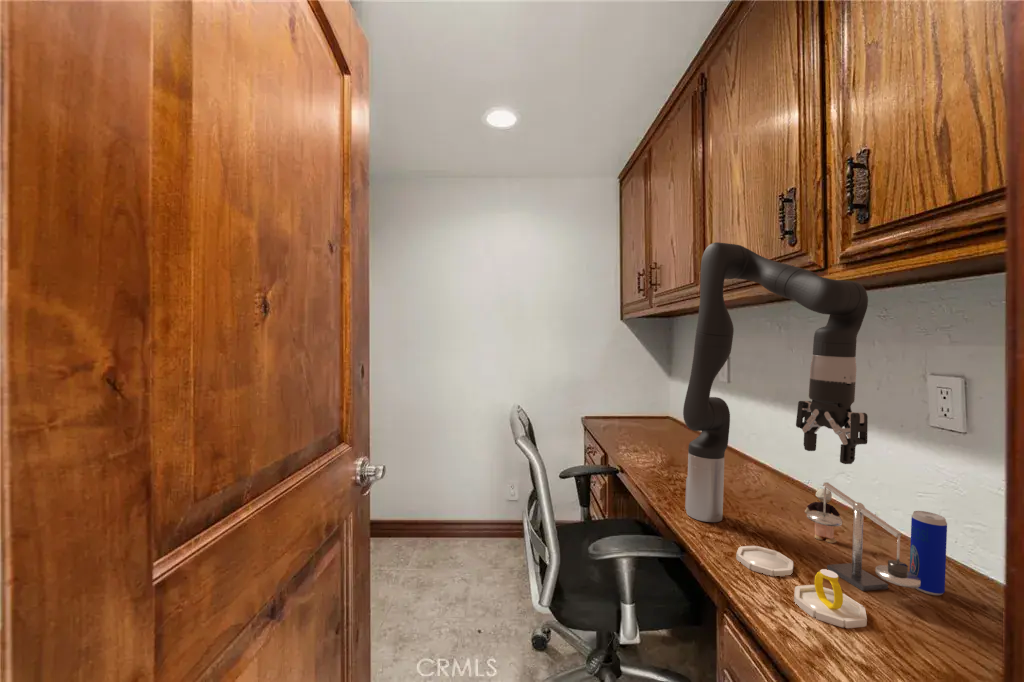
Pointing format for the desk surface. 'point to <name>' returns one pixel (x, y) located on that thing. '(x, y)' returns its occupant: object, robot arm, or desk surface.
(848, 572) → the balance
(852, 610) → the dish lower pan side
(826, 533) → the grandmother figurine
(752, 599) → the desk surface
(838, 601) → the watch
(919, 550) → the beverage can
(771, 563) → the dish upper pan side
